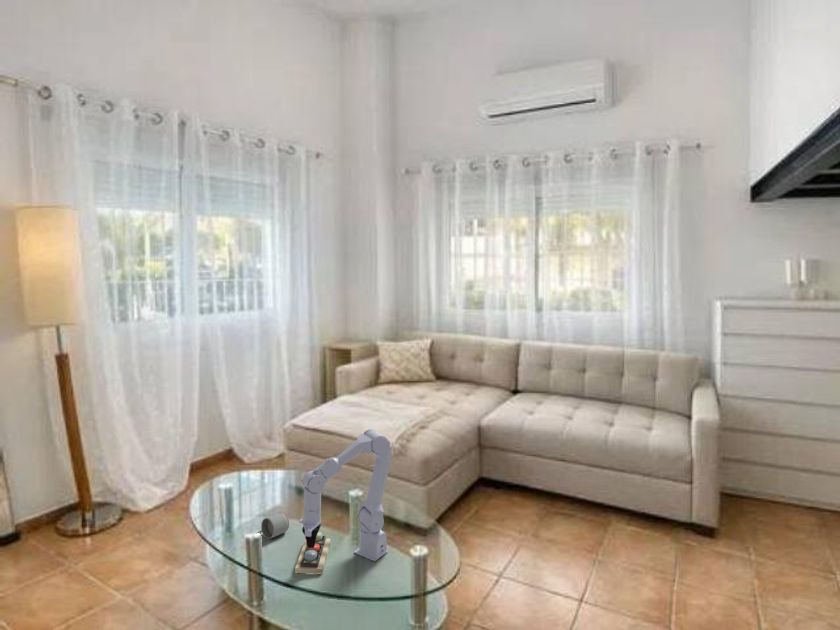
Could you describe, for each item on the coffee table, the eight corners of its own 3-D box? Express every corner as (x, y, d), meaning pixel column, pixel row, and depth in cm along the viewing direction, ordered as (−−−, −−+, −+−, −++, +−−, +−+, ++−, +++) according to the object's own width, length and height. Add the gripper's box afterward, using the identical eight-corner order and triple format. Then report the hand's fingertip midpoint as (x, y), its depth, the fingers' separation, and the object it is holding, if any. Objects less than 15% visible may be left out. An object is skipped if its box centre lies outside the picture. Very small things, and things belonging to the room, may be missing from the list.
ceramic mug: (290, 533, 201) (290, 514, 201) (273, 542, 195) (273, 521, 194) (272, 525, 207) (273, 506, 207) (255, 533, 201) (255, 513, 200)
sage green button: (312, 536, 193) (312, 531, 193) (323, 536, 193) (323, 531, 193) (310, 542, 189) (310, 536, 189) (321, 542, 189) (321, 537, 189)
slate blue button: (305, 555, 180) (305, 549, 180) (317, 555, 180) (317, 550, 180) (303, 561, 176) (303, 556, 176) (315, 562, 176) (315, 556, 176)
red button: (309, 548, 187) (309, 543, 187) (320, 548, 187) (320, 543, 187) (306, 554, 183) (307, 549, 183) (318, 554, 183) (318, 549, 183)
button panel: (305, 543, 195) (306, 534, 194) (330, 543, 195) (330, 534, 195) (294, 574, 175) (295, 564, 175) (322, 574, 175) (322, 564, 175)
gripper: (304, 498, 184) (303, 535, 185) (295, 517, 170) (294, 557, 171) (324, 498, 185) (323, 536, 186) (317, 518, 170) (316, 558, 171)
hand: (310, 546), depth 178 cm, fingers closed
